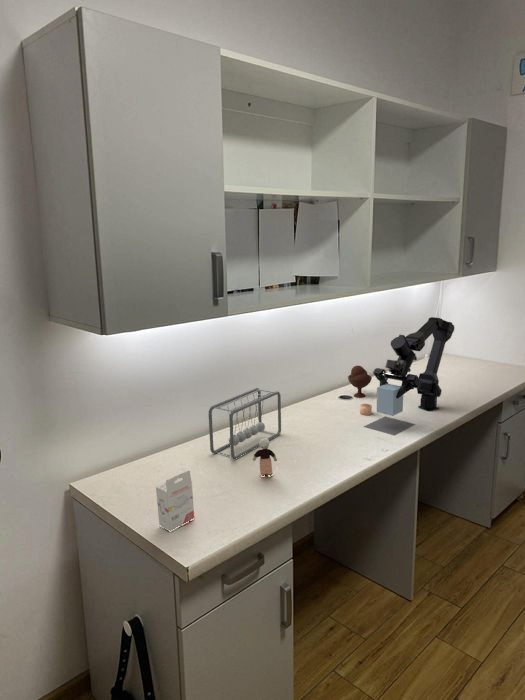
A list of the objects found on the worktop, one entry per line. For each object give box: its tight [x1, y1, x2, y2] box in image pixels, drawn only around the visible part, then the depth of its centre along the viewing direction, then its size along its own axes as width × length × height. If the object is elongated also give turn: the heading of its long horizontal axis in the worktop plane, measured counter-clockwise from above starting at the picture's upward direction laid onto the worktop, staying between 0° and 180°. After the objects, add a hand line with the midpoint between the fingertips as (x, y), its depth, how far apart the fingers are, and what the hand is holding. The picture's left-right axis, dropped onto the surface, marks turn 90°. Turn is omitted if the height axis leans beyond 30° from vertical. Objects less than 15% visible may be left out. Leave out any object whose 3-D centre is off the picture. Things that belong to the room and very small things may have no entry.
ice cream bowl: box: [347, 365, 373, 399], centre depth 245 cm, size 11×11×15 cm
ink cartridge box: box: [155, 469, 195, 531], centre depth 139 cm, size 9×5×15 cm, turn 138°
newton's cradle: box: [208, 387, 282, 460], centre depth 192 cm, size 30×10×18 cm, turn 144°
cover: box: [376, 382, 404, 417], centre depth 203 cm, size 7×7×10 cm
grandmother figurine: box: [252, 437, 278, 476], centre depth 166 cm, size 8×4×13 cm, turn 99°
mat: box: [363, 416, 416, 436], centre depth 207 cm, size 16×14×1 cm
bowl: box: [359, 403, 373, 417], centre depth 221 cm, size 5×5×4 cm
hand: (388, 396), depth 202 cm, fingers closed on cover, 7 cm apart
